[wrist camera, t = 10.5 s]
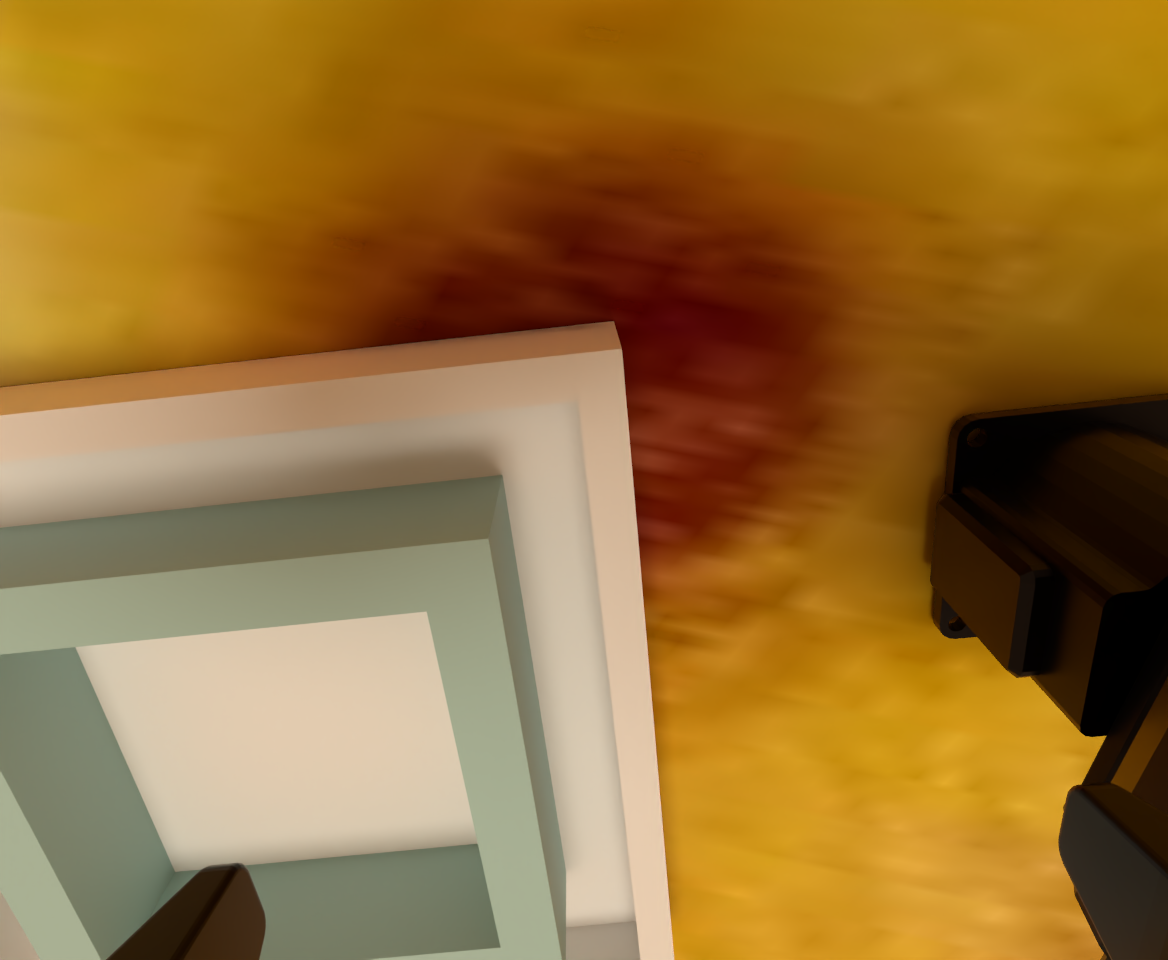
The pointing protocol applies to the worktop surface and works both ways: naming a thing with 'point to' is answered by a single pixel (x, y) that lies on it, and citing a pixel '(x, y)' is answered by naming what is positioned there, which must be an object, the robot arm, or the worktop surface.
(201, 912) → the robot arm
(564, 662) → the tray
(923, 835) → the worktop surface
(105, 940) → the shallow green box
